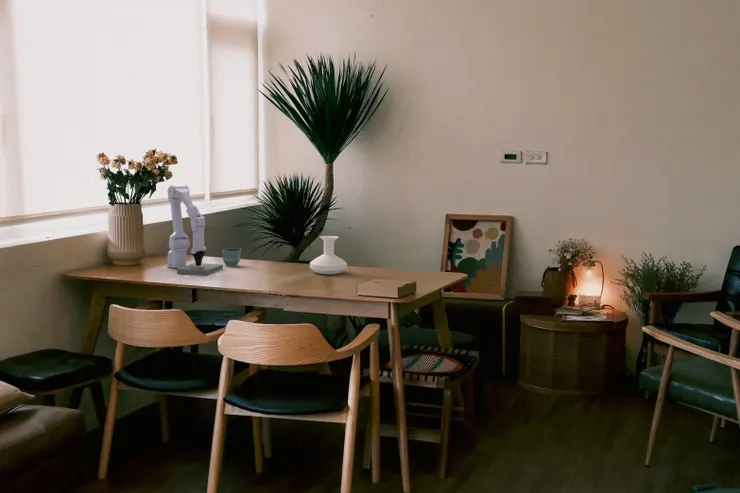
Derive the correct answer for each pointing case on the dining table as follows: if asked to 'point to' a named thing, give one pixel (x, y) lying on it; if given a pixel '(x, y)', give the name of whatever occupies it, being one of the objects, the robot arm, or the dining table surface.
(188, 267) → the board
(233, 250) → the flower pot
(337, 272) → the white vase
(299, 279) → the dining table surface
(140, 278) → the dining table surface
